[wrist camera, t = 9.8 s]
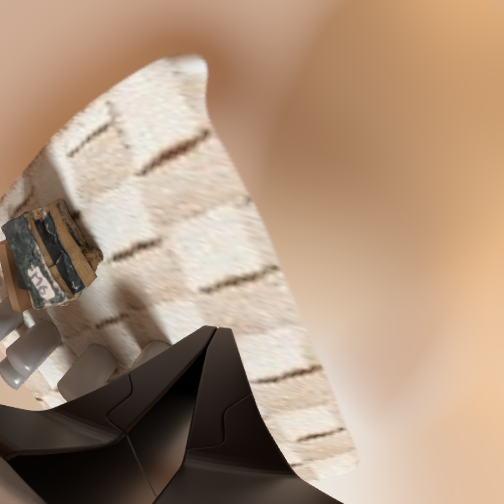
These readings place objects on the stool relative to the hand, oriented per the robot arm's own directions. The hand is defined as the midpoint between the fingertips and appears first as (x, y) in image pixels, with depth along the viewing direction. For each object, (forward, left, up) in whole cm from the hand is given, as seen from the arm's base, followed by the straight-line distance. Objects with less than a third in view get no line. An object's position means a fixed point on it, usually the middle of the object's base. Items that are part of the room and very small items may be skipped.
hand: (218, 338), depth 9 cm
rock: (-3, +17, -13) cm, 22 cm away
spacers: (-14, +18, -12) cm, 26 cm away
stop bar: (-5, +23, -12) cm, 27 cm away
